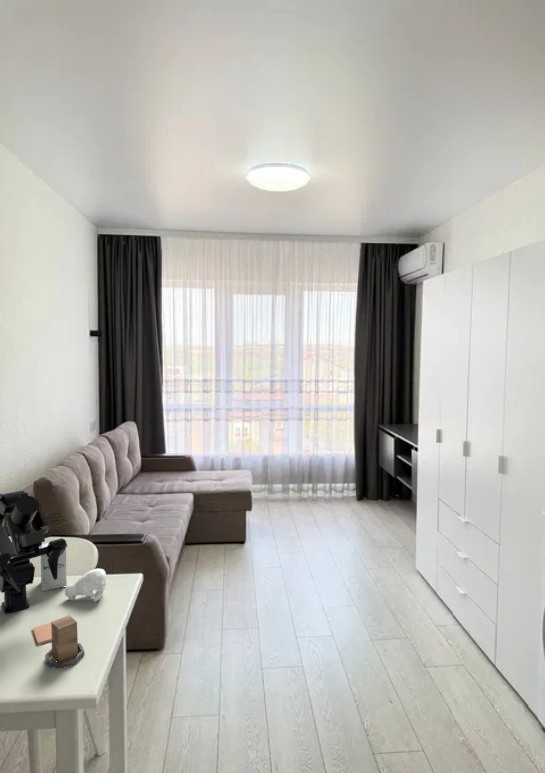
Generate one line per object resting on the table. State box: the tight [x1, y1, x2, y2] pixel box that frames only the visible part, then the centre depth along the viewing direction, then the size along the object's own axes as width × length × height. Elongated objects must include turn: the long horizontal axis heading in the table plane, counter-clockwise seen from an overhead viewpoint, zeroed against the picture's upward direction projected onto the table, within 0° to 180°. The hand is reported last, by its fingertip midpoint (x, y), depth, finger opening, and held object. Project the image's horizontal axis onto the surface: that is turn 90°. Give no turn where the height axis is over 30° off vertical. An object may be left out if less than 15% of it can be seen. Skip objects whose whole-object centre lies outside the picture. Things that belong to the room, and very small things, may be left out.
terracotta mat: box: [32, 622, 52, 646], centre depth 131 cm, size 8×8×1 cm
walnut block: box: [50, 614, 79, 662], centre depth 121 cm, size 4×4×9 cm
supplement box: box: [40, 542, 68, 592], centre depth 157 cm, size 7×7×13 cm
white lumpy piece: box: [64, 568, 107, 602], centre depth 149 cm, size 6×8×12 cm
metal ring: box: [44, 642, 85, 669], centre depth 121 cm, size 8×8×1 cm
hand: (38, 585), depth 131 cm, fingers open, 9 cm apart
